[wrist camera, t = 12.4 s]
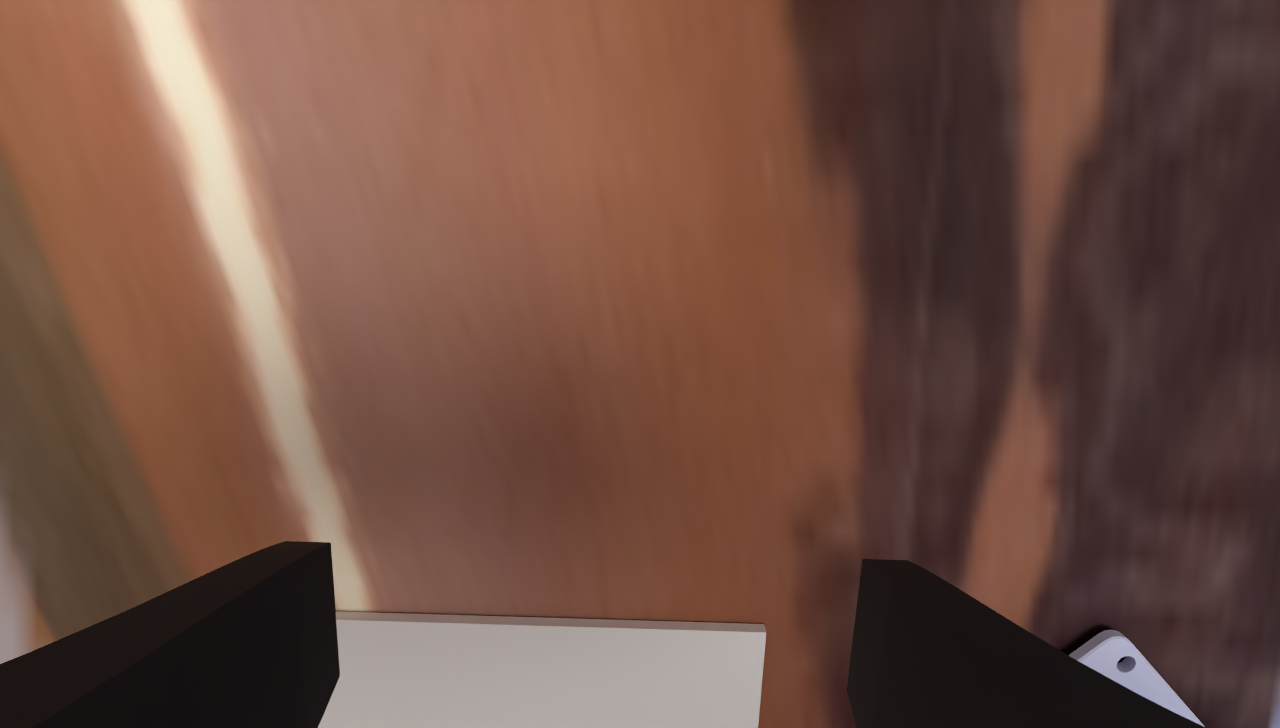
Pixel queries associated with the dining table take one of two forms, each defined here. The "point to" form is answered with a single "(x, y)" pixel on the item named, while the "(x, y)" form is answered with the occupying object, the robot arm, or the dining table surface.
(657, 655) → the mat
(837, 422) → the dining table surface
